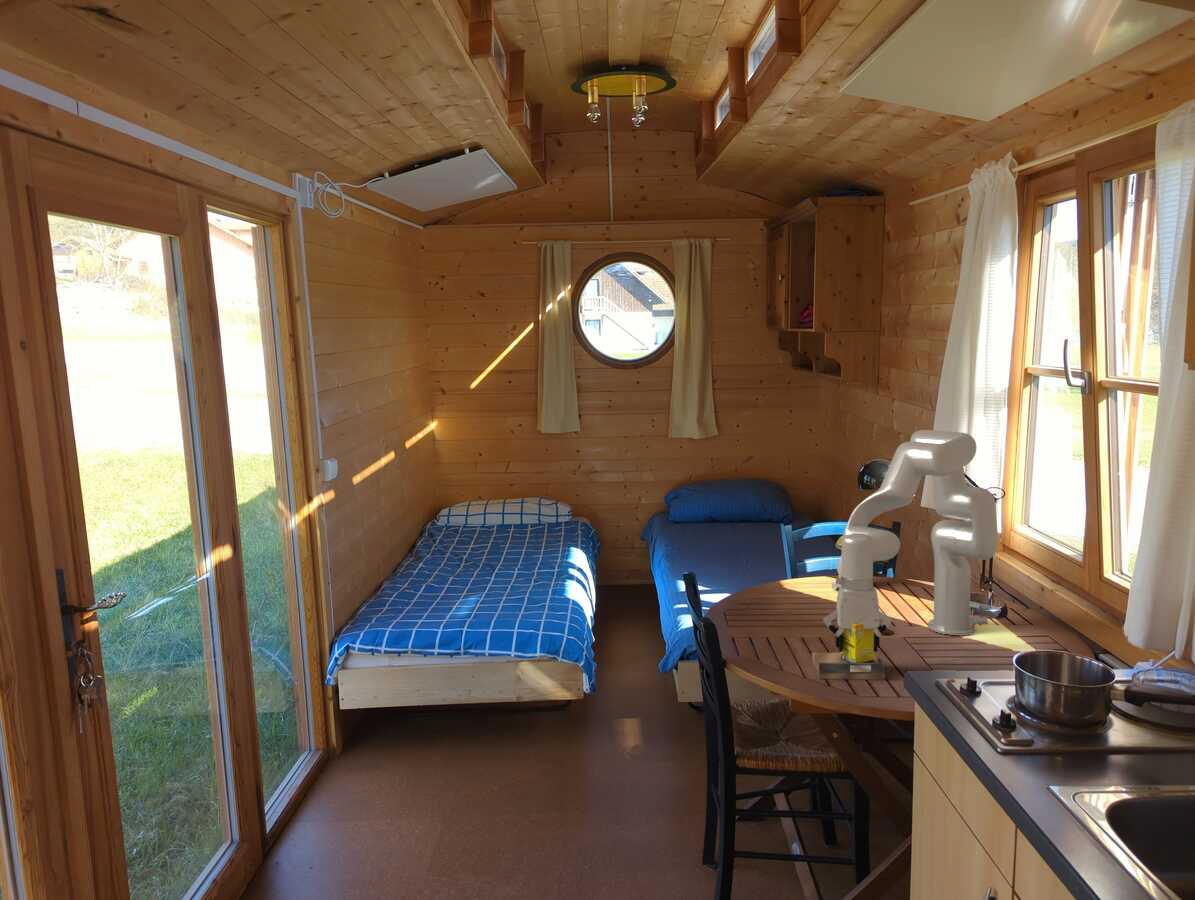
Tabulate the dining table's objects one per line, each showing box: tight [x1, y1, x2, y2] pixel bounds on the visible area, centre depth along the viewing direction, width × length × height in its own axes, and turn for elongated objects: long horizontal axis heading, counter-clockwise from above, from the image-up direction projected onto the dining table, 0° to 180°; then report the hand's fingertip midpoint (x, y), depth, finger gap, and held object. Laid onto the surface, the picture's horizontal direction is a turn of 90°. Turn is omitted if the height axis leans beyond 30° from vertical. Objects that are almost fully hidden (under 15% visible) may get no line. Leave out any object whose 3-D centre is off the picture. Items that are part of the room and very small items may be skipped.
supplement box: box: [840, 624, 875, 663], centre depth 220 cm, size 6×6×11 cm
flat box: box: [811, 652, 886, 681], centre depth 223 cm, size 16×14×4 cm
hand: (857, 649), depth 220 cm, fingers closed on supplement box, 8 cm apart
